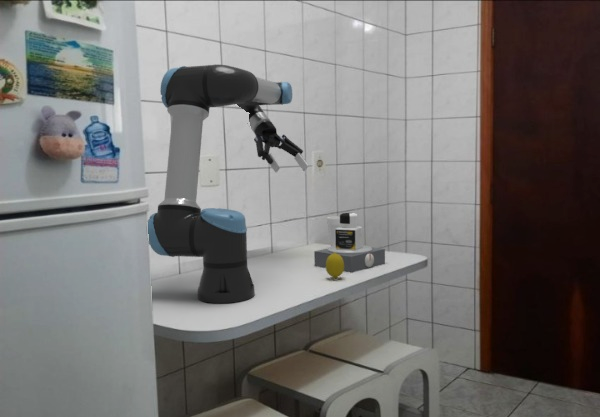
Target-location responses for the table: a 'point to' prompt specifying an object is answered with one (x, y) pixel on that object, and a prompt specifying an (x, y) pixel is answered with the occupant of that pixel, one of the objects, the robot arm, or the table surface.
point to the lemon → (334, 265)
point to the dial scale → (352, 257)
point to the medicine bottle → (348, 232)
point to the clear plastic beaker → (333, 228)
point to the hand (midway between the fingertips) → (292, 169)
